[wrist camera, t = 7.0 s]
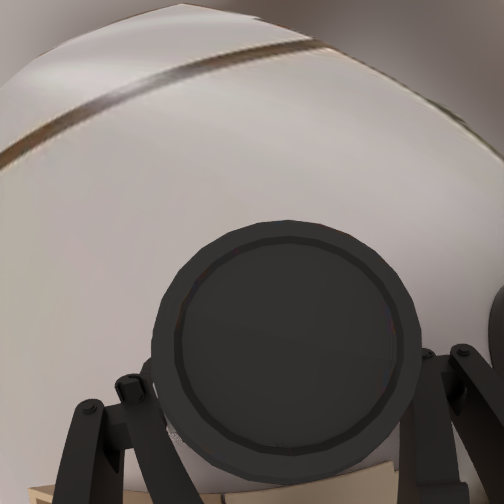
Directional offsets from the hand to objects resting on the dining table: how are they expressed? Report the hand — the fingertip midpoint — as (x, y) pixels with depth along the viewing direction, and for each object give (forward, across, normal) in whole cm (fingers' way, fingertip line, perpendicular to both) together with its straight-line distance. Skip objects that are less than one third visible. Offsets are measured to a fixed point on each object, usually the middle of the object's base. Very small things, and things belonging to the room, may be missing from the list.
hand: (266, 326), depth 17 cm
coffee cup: (+2, 0, -6) cm, 7 cm away
